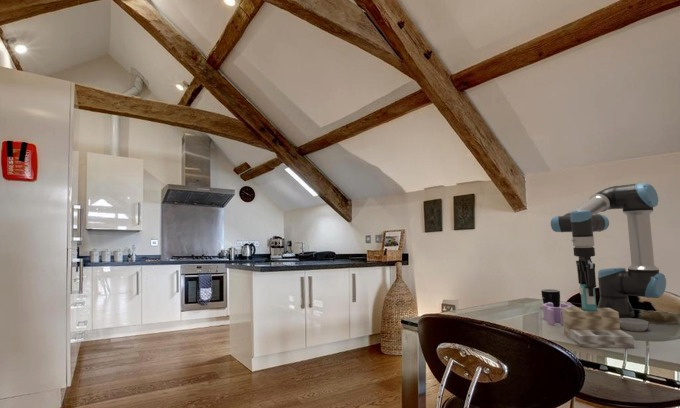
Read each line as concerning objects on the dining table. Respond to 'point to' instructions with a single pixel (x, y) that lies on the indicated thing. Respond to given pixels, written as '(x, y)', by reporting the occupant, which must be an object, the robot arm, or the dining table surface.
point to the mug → (551, 296)
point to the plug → (584, 299)
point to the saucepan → (633, 324)
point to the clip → (554, 313)
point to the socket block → (595, 328)
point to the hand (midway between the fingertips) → (588, 302)
